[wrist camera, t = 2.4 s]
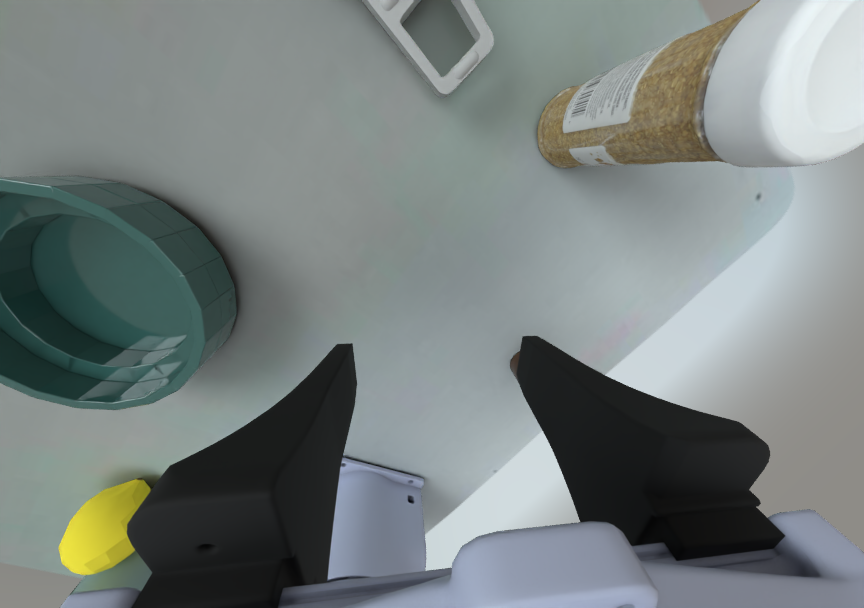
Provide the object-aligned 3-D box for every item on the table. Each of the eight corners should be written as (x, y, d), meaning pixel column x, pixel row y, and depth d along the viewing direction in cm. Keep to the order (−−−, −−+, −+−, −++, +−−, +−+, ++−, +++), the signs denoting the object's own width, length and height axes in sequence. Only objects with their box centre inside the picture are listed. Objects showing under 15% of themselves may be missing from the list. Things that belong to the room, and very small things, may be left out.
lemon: (14, 596, 21) (64, 550, 25) (111, 600, 23) (141, 556, 27) (80, 485, 23) (115, 461, 27) (163, 497, 25) (183, 473, 29)
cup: (223, 534, 31) (154, 684, 22) (178, 569, 33) (95, 724, 24) (148, 502, 28) (31, 660, 19) (101, 542, 30) (-27, 707, 21)
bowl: (264, 240, 20) (231, 259, 16) (214, 388, 24) (177, 433, 20) (10, 129, 16) (-119, 116, 12) (2, 326, 20) (-97, 366, 16)
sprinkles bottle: (554, 182, 21) (786, 203, 8) (522, 120, 19) (756, 32, 7) (614, 136, 20) (964, 86, 8) (586, 67, 18) (983, -143, 6)
